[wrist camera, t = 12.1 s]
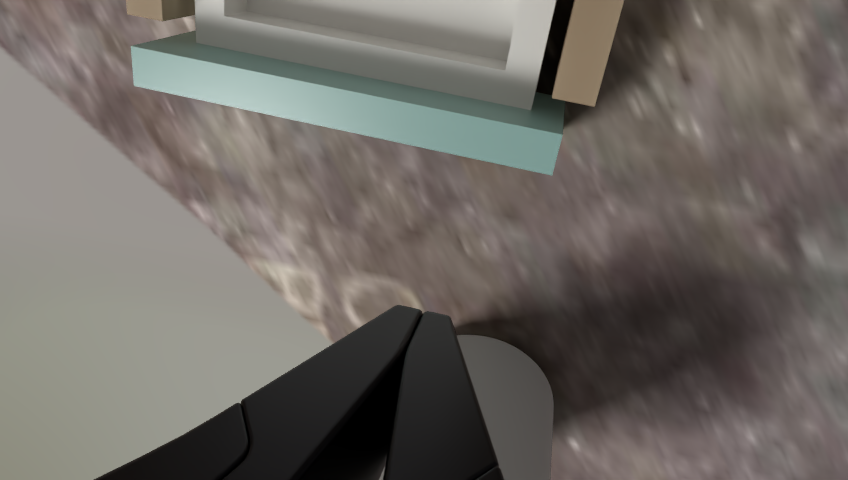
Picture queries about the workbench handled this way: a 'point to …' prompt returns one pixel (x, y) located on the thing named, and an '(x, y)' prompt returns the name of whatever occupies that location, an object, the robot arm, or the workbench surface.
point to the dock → (578, 59)
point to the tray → (376, 70)
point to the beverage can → (512, 406)
